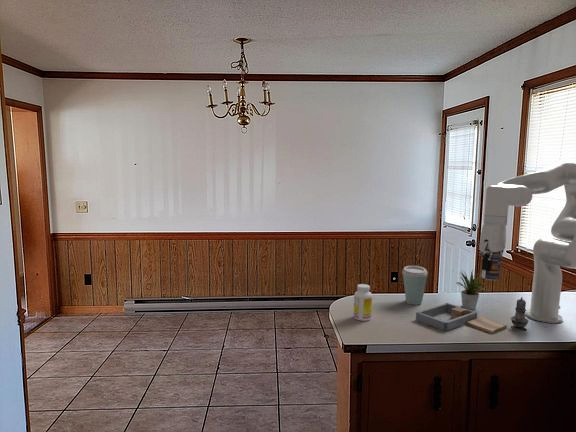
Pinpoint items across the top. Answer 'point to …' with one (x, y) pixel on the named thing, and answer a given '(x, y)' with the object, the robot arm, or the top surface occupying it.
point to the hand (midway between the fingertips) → (491, 268)
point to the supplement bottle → (362, 303)
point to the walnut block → (457, 312)
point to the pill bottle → (493, 267)
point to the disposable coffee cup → (414, 283)
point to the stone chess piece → (519, 316)
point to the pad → (486, 325)
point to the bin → (451, 324)
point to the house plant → (470, 291)
